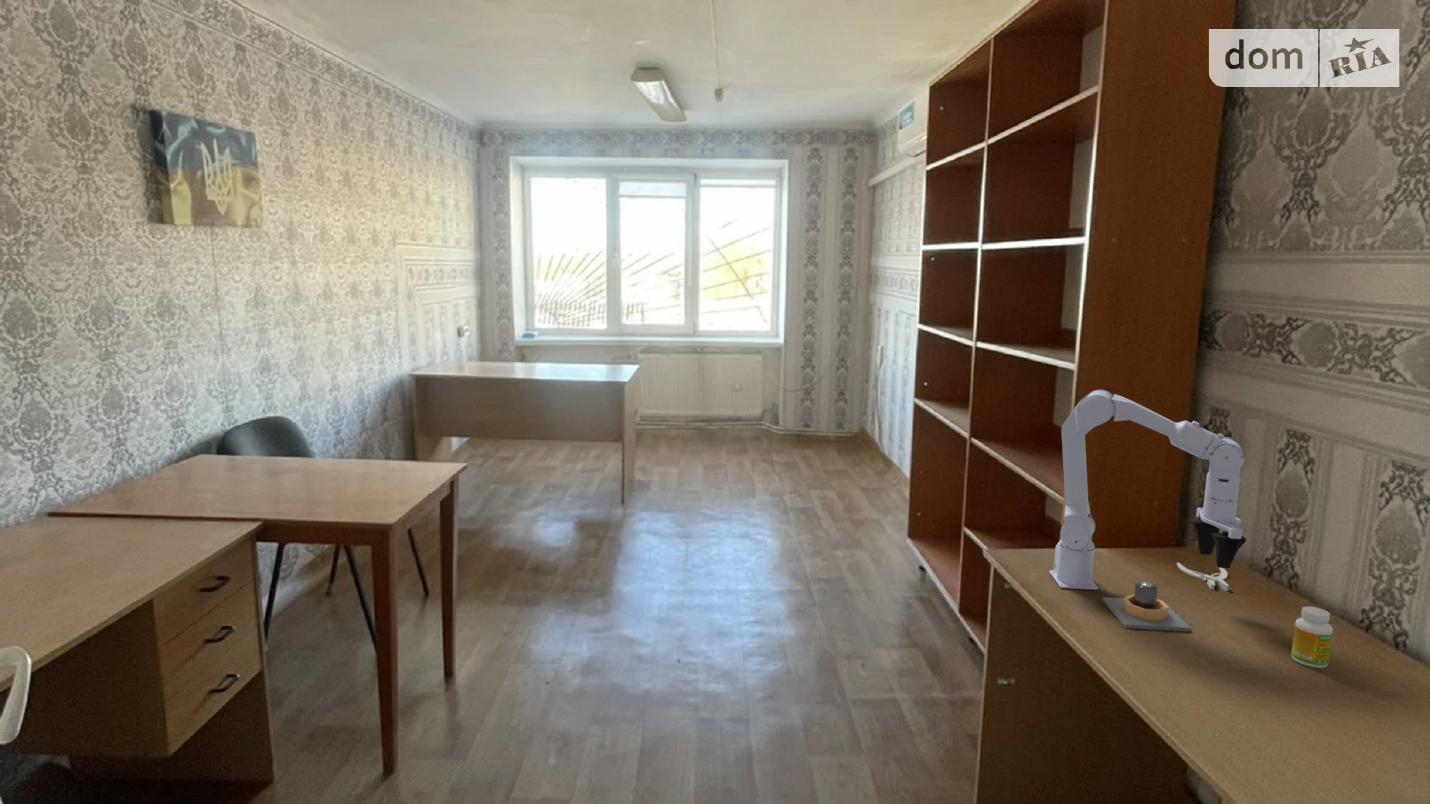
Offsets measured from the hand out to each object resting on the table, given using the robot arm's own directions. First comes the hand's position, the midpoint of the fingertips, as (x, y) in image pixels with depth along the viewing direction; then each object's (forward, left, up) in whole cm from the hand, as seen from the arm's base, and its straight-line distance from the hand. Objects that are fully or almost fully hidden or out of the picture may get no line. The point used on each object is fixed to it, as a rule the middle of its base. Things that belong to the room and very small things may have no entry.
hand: (1214, 560), depth 160 cm
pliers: (-17, +8, -11) cm, 22 cm away
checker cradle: (+6, -15, -10) cm, 19 cm away
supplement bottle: (+22, +7, -11) cm, 25 cm away
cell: (+6, -15, -10) cm, 19 cm away
